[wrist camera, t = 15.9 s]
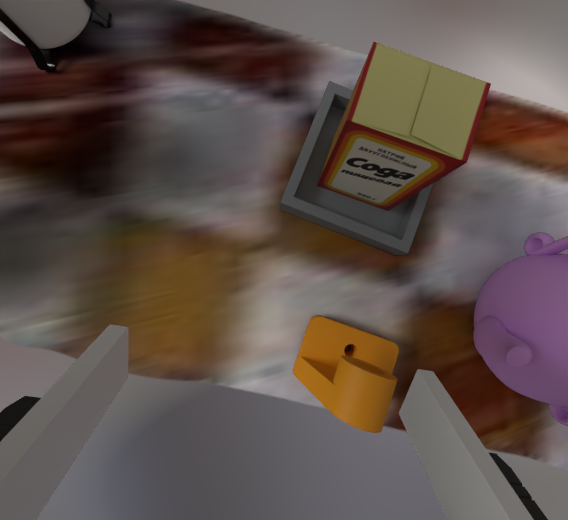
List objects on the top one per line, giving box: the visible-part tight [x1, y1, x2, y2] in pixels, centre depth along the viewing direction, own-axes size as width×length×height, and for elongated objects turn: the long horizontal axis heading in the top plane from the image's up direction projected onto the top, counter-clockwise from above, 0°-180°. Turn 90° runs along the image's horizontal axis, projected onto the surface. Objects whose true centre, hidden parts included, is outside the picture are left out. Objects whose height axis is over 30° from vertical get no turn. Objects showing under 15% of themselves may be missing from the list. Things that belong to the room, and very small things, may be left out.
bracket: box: [293, 315, 399, 433], centre depth 32 cm, size 11×7×12 cm, turn 70°
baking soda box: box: [317, 42, 491, 211], centre depth 30 cm, size 10×6×16 cm
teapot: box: [473, 232, 568, 426], centre depth 32 cm, size 22×22×14 cm
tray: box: [280, 81, 434, 256], centre depth 38 cm, size 16×16×4 cm
